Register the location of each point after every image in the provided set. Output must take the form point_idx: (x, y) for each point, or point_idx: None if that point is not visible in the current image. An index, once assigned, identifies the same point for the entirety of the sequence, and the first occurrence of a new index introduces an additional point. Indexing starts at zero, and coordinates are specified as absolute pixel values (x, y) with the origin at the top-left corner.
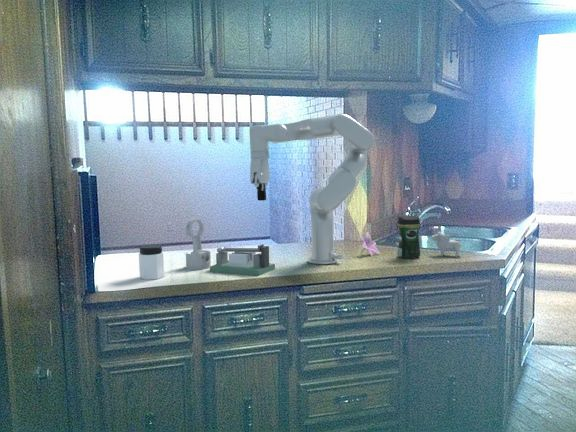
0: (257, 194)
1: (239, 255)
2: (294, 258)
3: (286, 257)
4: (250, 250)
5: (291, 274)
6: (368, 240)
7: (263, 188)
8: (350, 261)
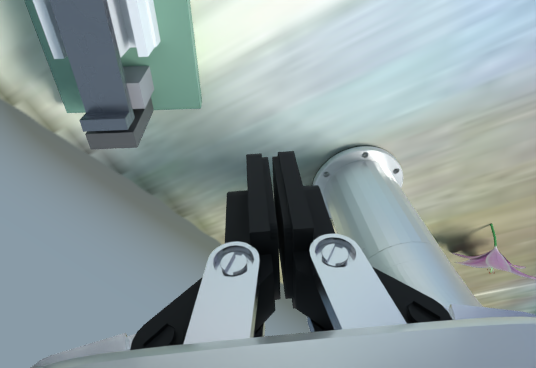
0: (248, 196)
1: (41, 15)
2: (401, 82)
3: (419, 43)
4: (75, 73)
5: (153, 179)
6: (511, 267)
7: (257, 336)
8: None
